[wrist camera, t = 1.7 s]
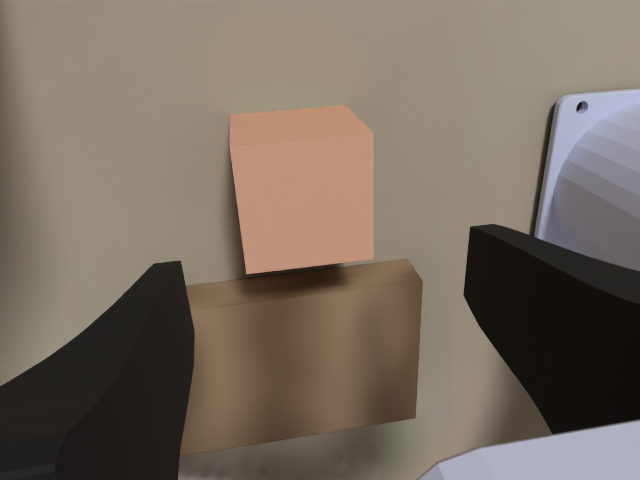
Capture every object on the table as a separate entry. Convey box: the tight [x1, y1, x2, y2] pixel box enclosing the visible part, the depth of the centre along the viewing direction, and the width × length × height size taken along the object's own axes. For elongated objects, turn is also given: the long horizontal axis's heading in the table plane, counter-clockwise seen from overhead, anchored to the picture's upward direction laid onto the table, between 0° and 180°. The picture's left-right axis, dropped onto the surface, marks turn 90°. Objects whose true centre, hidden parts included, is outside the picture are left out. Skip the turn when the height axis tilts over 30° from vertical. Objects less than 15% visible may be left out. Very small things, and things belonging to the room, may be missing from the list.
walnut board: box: [180, 259, 423, 456], centre depth 23 cm, size 12×8×2 cm, turn 93°
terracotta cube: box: [230, 105, 374, 274], centre depth 19 cm, size 4×4×4 cm
